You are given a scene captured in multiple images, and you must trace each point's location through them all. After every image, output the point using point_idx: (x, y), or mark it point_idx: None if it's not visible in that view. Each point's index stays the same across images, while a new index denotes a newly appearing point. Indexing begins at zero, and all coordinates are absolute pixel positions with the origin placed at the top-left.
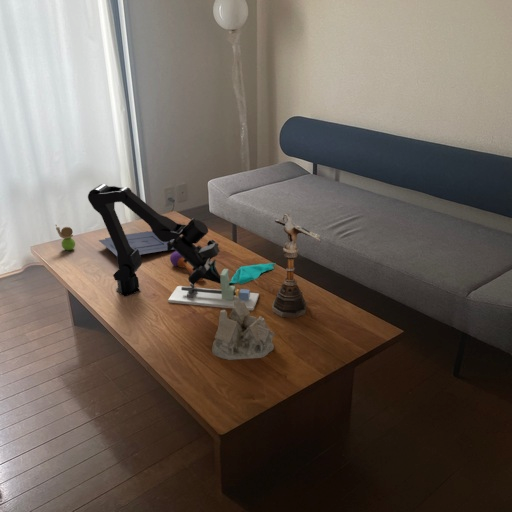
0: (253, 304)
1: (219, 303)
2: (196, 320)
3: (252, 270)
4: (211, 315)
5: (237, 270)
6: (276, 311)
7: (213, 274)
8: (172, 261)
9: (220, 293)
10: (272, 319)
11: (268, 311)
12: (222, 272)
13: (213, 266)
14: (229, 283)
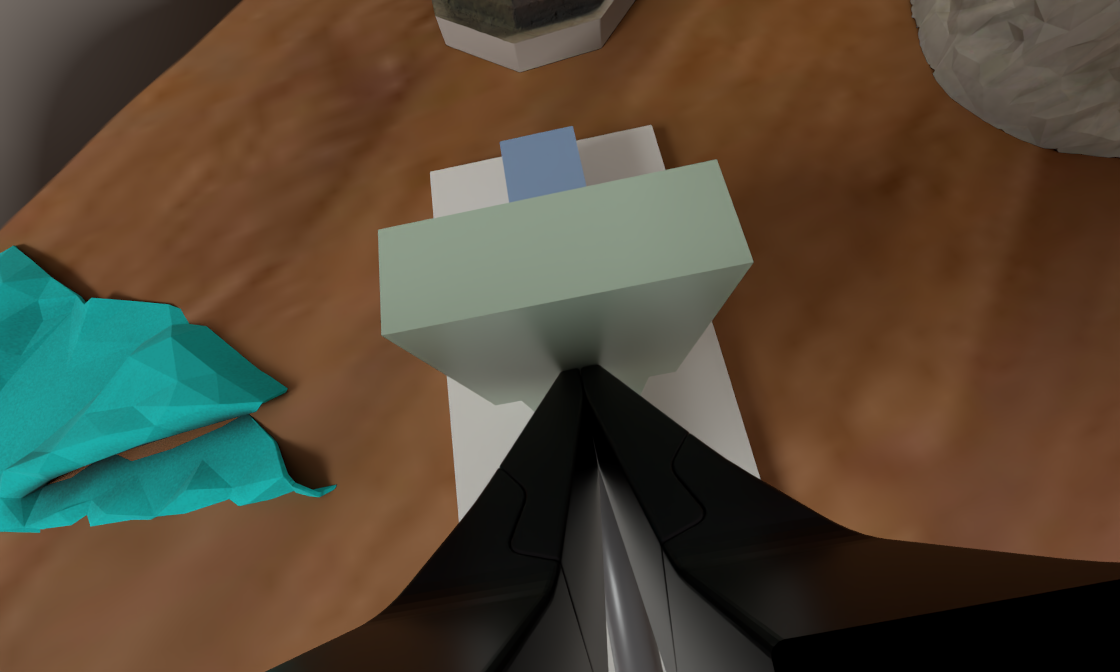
0: (601, 142)
1: (709, 393)
2: (1059, 493)
3: (32, 390)
4: (886, 395)
5: (23, 527)
6: (622, 2)
7: (752, 485)
8: None
9: None
10: (695, 13)
11: (615, 64)
12: (597, 272)
13: (533, 636)
14: (294, 483)
